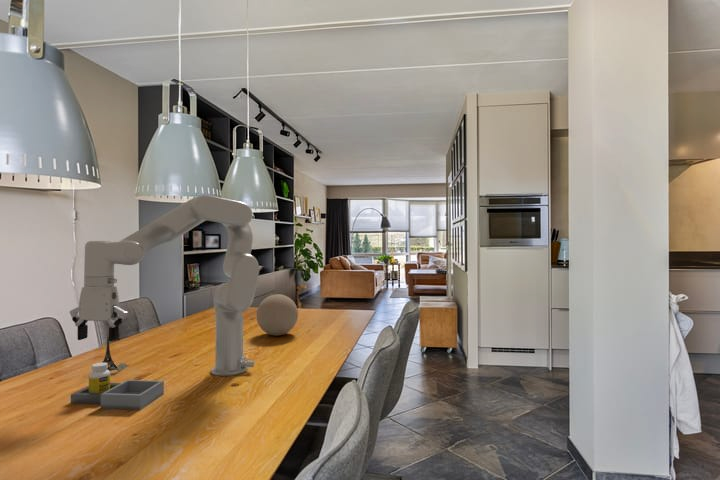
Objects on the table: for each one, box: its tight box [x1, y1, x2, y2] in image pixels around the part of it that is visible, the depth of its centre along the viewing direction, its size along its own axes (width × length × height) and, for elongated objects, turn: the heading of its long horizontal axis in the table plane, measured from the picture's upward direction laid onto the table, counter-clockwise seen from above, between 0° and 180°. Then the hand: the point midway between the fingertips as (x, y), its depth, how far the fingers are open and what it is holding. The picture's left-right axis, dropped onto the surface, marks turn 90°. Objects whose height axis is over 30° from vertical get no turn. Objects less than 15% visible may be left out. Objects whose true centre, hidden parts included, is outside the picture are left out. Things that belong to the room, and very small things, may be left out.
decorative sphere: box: [256, 293, 299, 337], centre depth 201 cm, size 20×20×20 cm
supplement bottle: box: [88, 362, 111, 393], centre depth 122 cm, size 5×5×10 cm
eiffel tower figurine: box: [101, 336, 130, 377], centre depth 148 cm, size 15×10×13 cm
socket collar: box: [70, 382, 122, 405], centre depth 122 cm, size 10×10×2 cm
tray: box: [100, 379, 165, 411], centre depth 119 cm, size 12×12×4 cm
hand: (97, 339), depth 122 cm, fingers open, 9 cm apart
